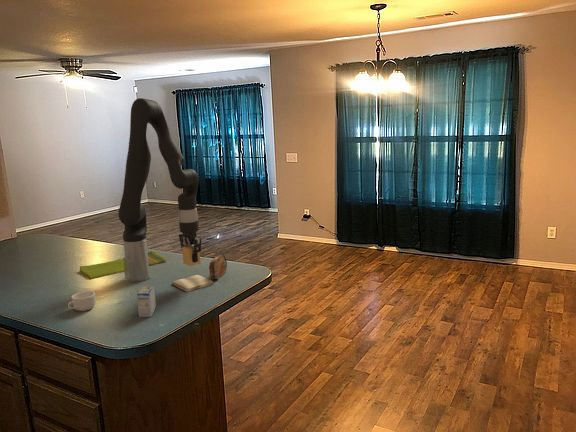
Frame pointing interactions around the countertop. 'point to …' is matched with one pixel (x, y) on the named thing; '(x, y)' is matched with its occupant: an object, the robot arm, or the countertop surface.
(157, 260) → the dish towel
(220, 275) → the tin
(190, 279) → the birch board
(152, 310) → the medicine box
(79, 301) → the teacup
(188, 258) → the ochre block
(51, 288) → the countertop surface
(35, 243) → the countertop surface
